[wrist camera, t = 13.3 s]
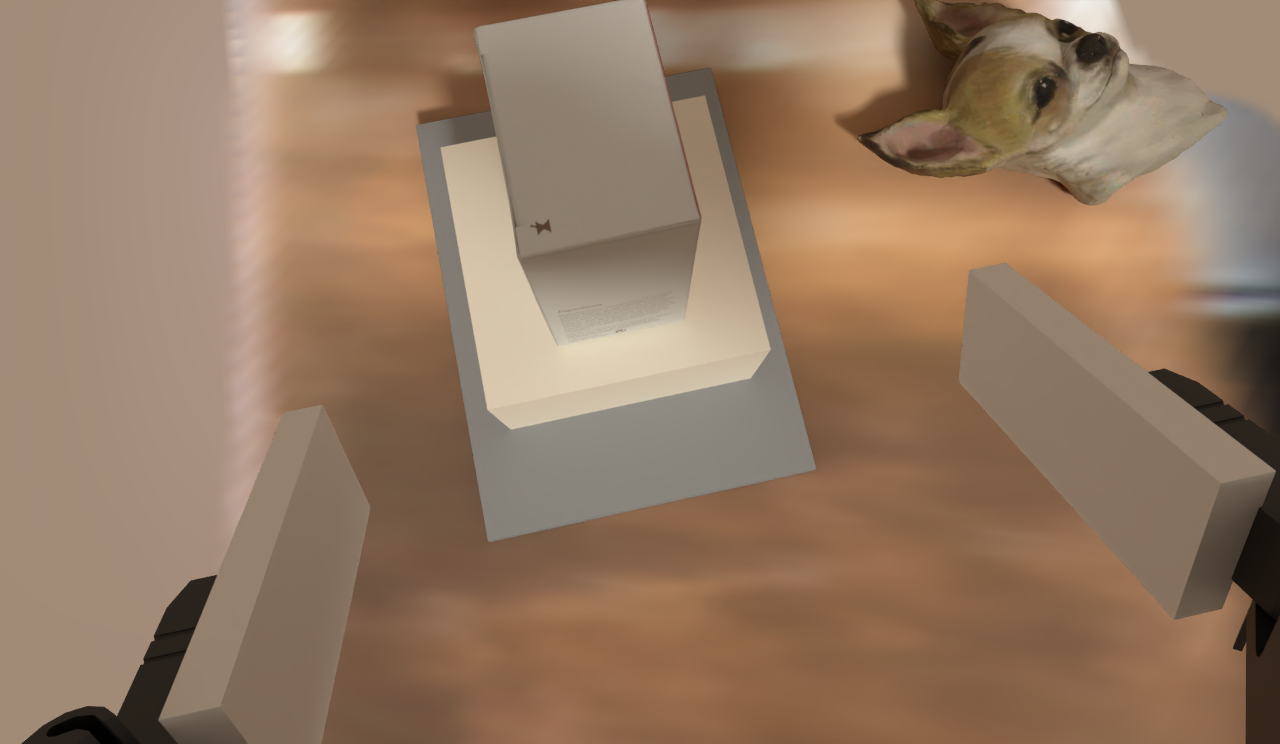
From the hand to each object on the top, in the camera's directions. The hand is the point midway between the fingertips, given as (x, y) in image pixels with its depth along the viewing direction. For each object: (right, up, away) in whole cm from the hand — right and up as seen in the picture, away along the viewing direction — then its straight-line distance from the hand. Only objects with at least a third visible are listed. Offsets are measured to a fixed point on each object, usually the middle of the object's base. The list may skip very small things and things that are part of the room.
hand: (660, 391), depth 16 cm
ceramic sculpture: (+19, +13, +27) cm, 36 cm away
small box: (-2, +6, +18) cm, 19 cm away
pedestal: (-2, +4, +25) cm, 25 cm away
